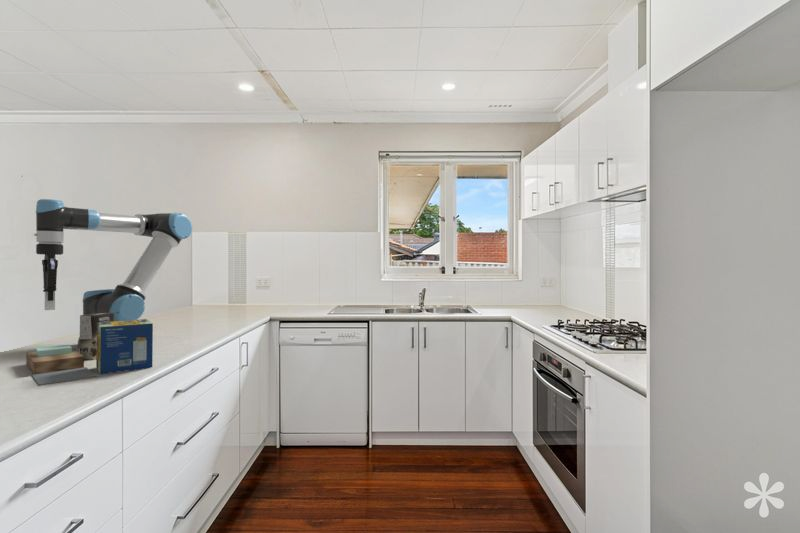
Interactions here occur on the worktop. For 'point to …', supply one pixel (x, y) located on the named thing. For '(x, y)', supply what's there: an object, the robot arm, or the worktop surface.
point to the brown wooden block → (54, 362)
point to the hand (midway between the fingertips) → (49, 309)
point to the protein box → (124, 345)
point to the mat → (63, 376)
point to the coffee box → (91, 332)
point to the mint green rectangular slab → (53, 350)
